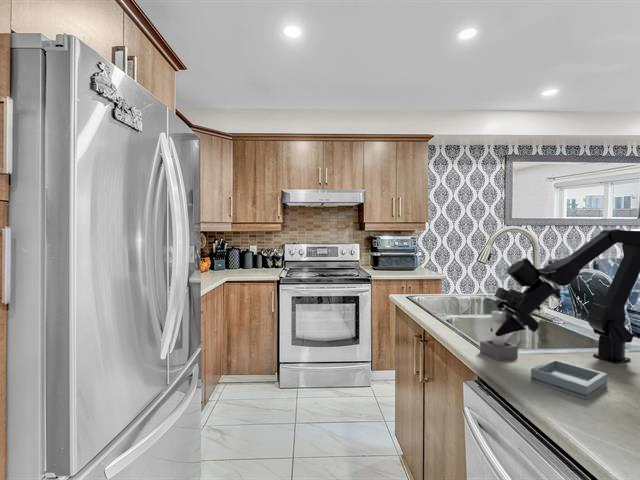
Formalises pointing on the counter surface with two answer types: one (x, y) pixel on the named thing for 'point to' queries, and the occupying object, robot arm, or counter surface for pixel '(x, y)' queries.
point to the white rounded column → (498, 320)
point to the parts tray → (569, 378)
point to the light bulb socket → (499, 350)
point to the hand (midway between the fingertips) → (493, 333)
